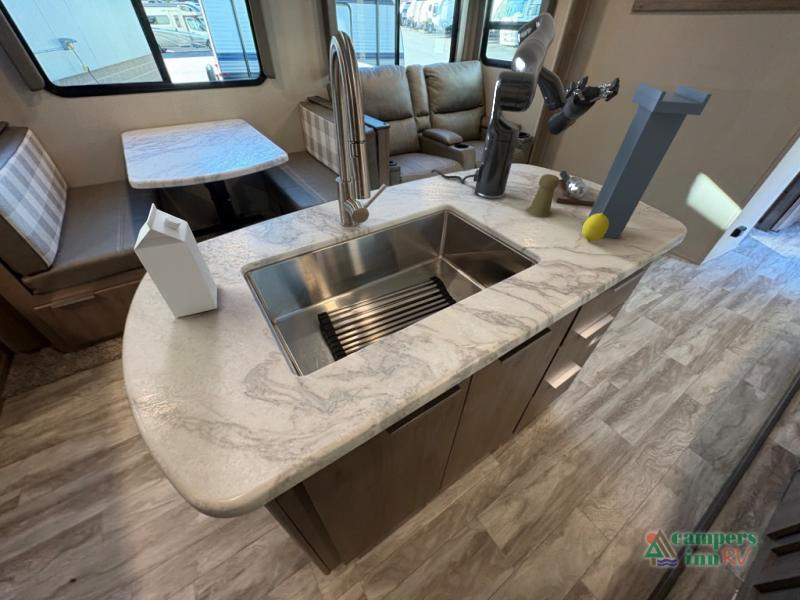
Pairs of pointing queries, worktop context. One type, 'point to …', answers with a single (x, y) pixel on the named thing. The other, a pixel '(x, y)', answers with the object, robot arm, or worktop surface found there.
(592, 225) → the lemon
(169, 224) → the milk carton
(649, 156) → the shelf stand
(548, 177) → the olive green pawn
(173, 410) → the worktop surface
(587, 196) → the cutting board
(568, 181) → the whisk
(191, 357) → the worktop surface
